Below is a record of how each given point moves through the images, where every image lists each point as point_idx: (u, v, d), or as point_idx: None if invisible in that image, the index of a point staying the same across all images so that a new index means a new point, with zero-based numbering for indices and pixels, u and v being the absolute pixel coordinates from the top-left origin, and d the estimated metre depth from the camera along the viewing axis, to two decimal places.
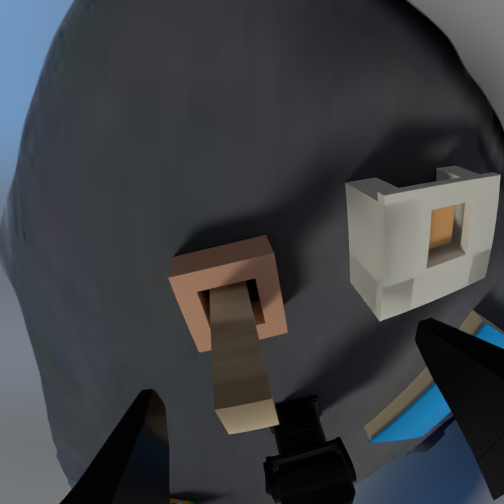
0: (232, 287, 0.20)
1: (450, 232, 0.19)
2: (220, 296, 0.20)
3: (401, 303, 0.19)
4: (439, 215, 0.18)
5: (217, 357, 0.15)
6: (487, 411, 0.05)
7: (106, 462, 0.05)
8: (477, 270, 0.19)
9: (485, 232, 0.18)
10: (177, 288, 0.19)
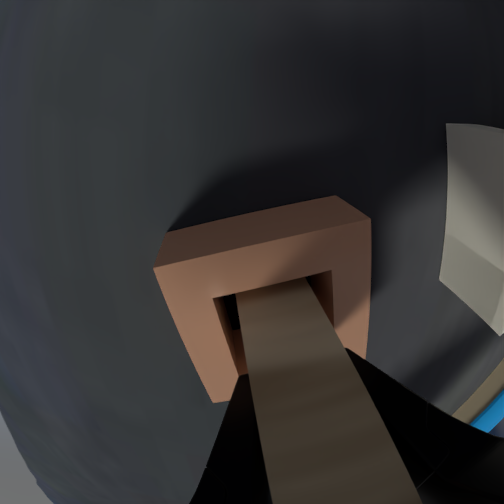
0: (281, 289, 0.10)
1: None
2: (260, 306, 0.10)
3: None
4: None
5: (281, 468, 0.05)
6: None
7: (229, 457, 0.05)
8: None
9: None
10: (172, 291, 0.09)
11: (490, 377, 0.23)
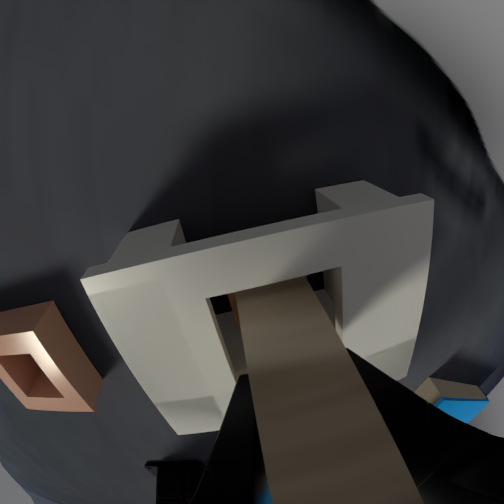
0: (281, 288, 0.10)
1: None
2: (260, 305, 0.10)
3: (206, 421, 0.12)
4: None
5: (281, 466, 0.05)
6: None
7: (229, 457, 0.05)
8: None
9: (394, 316, 0.10)
10: None
11: None
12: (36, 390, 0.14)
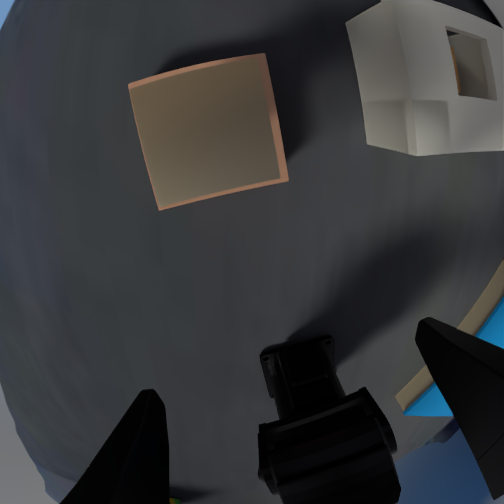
0: None
1: (457, 80, 0.14)
2: None
3: (440, 135, 0.12)
4: None
5: None
6: (487, 411, 0.05)
7: (106, 462, 0.05)
8: None
9: None
10: None
11: (476, 304, 0.26)
12: None
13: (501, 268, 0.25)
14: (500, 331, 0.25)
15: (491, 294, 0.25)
